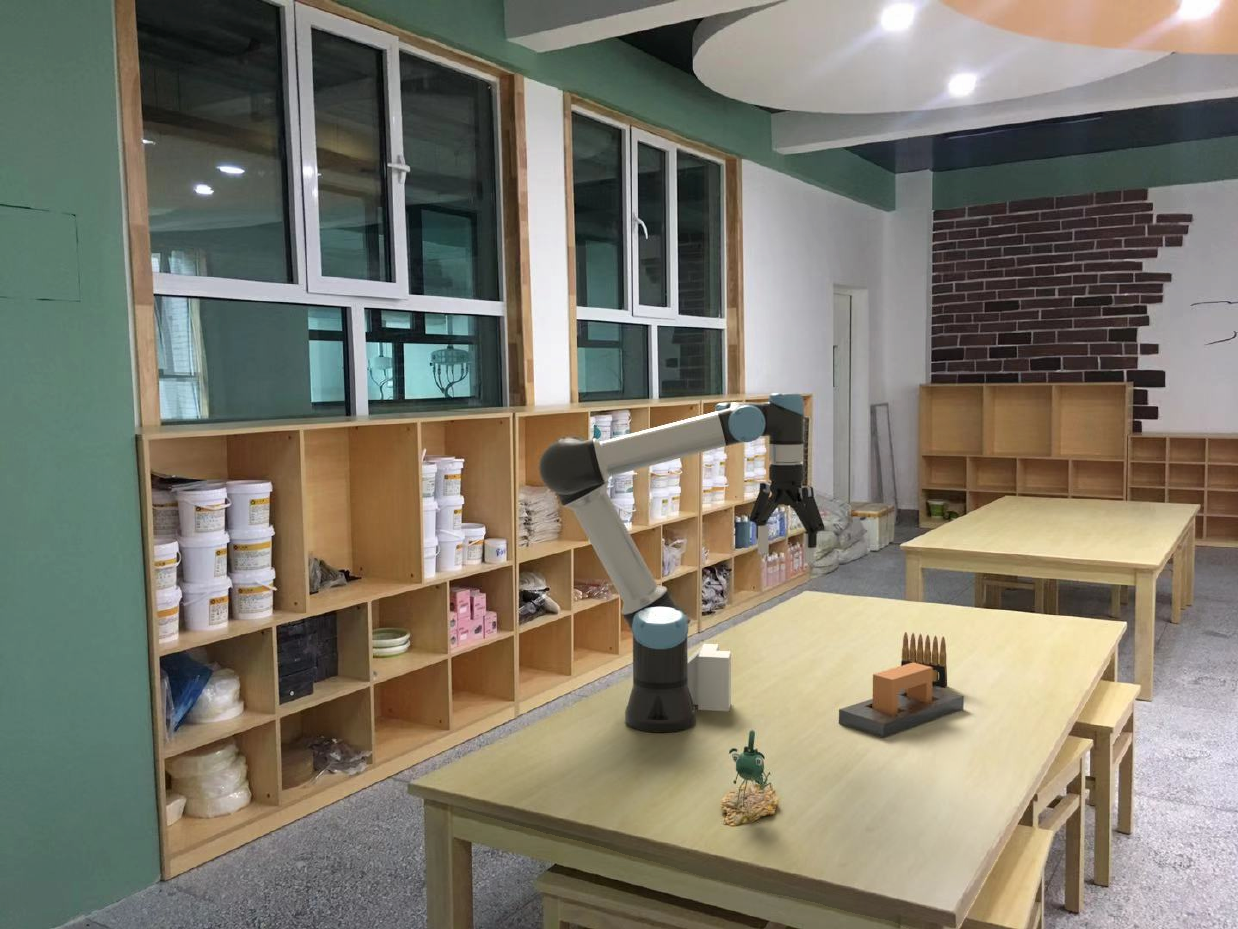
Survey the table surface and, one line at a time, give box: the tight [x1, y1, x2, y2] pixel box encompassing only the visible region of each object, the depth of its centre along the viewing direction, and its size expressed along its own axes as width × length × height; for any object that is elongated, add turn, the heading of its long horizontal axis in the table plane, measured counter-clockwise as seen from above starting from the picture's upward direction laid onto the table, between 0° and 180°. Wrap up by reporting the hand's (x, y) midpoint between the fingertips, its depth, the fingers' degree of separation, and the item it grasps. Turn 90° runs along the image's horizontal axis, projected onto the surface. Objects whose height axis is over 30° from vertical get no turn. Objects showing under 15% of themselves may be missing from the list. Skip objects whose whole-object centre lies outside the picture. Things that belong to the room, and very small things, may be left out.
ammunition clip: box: [900, 631, 948, 689], centre depth 247 cm, size 11×2×12 cm, turn 59°
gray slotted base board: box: [838, 686, 965, 739], centre depth 225 cm, size 28×12×3 cm, turn 128°
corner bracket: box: [687, 643, 732, 712], centre depth 235 cm, size 11×11×12 cm
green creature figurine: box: [720, 729, 781, 827], centre depth 178 cm, size 10×18×15 cm, turn 146°
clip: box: [872, 662, 933, 715], centre depth 224 cm, size 14×5×10 cm, turn 128°
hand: (785, 558), depth 232 cm, fingers open, 13 cm apart
